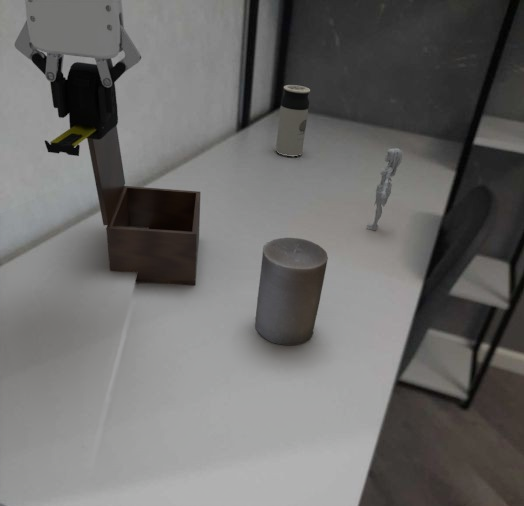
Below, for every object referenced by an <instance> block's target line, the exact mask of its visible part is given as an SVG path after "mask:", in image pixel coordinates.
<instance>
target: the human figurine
mask: <svg viewBox="0 0 524 506" xmlns="http://www.w3.org/2000/svg"><path fill="white" fill-rule="evenodd" d="M386 153H387V154H386V155H385V158H384V160H385V162H386V163H387V165H386V166H385V167H383V168H381V170H380V176H381V179H380V183H379V184H377V185H376V189H375V201H374V206H376V208H375V215H374V220H373V223H372V224H367V225H366V226H367V227H366V229H367V230H371V231H377V230H378V227H379V225H378V222H379V220H380V219H381V217H382V214H383V208H384V207H385V206H386V205H387V202H388V200H389V197H390V195H391V194H392V187H393V184H392V181H393V180H392V177H394V176H395V175H396V174H397V170H398V167H399V166H400V165H401V164H402V160H403V150H402V149H400V148H398V147H397V148H396V147H395V148H388V149H387V151H386Z"/></svg>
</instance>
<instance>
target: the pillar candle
mask: <svg viewBox="0 0 524 506" xmlns="http://www.w3.org/2000/svg"><path fill="white" fill-rule="evenodd" d="M328 259H329V257H328V253H327V251H326V250H325V249H324V248H323V247H322V246H320V245H319V244H318V243H315V242H313V241H312V240H311V241H310V240H308V239H304V238H298V237H280V238H275V239H272V240H270V241H266V242H265V244H263V247H262V257H261V265H260V275H259V283H258V284H259V285H258V290H257V291H258V293H257V300H256V301H257V302H256V311H255V318H254V321H255V322H254V328H255V330H256V332H258V333H259V335H260V336H262V337H263V338H264V339H265V340H267V341H268V342H271V343H274V344H277V345H280V346H281V345H282V346H294V345H299V344H303V343H305V342H307V341H309V340H310V339H311V338H312V337H313V335H314V329H315V324H316V320H317V315H318V311H319V306H320V301H321V296H322V291H323V286H324V280H325V275H326V271H327V266H328V265H327V264H328Z"/></svg>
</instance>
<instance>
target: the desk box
mask: <svg viewBox="0 0 524 506" xmlns="http://www.w3.org/2000/svg"><path fill="white" fill-rule="evenodd" d="M200 217H201V191H196V190H185V189H184V190H183V189H170V188H159V187H144V186H134V185H133V186H132V185H124V187H123V190H122V192H121V195H120V197H119V200H118V202H117V205H116V207H115V210H114V212H113V215H112V217H111V220H110V222H109V225H106V227H105V230H106V241H107V255H108V264H109V272H122V273H136V277H135V282H134V283H149V284H150V283H153V284H169V285H187V286H196V284H197V283H196V282H197V270H198V269H197V268H198V257H199V245H200V244H199V243H200V225H201V223H200V222H201V221H200V219H201V218H200Z"/></svg>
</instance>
